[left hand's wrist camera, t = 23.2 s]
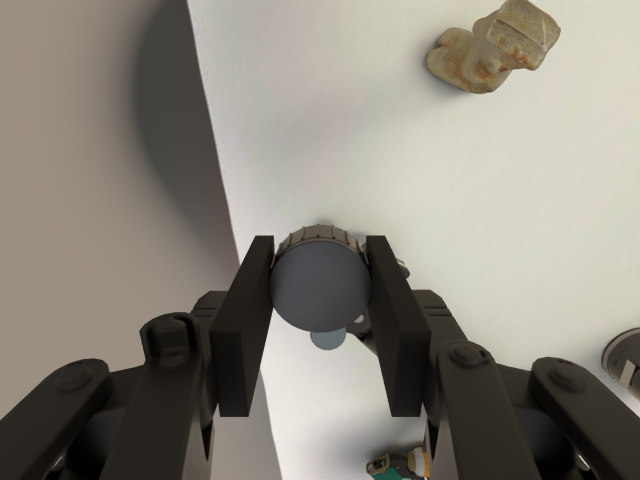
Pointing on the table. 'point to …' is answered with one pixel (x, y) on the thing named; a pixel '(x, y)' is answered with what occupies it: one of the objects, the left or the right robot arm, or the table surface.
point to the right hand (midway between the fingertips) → (307, 250)
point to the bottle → (328, 339)
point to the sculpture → (494, 47)
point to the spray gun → (400, 466)
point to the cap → (320, 279)
